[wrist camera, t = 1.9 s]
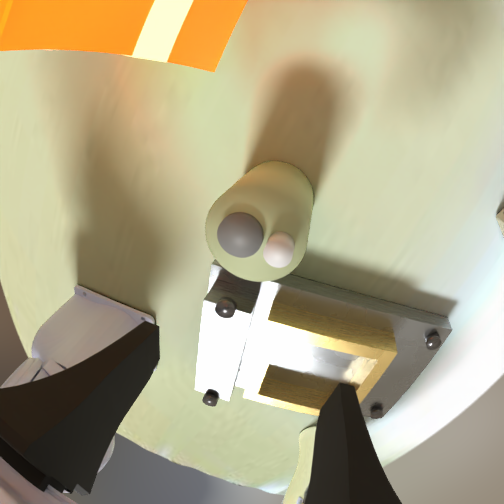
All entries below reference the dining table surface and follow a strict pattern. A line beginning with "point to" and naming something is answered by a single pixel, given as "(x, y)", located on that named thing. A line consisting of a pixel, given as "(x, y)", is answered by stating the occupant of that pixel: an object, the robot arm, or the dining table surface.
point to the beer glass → (302, 469)
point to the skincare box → (501, 220)
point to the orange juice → (124, 27)
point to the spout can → (262, 222)
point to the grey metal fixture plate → (309, 343)
